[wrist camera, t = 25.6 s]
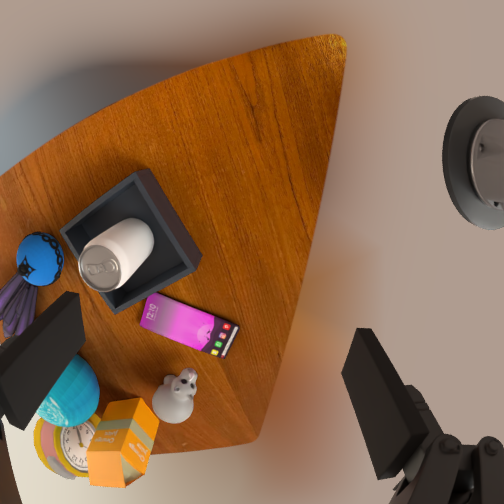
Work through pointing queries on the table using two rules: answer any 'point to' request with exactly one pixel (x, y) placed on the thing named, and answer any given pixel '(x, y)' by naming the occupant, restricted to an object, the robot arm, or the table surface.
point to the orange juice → (121, 443)
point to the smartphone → (188, 325)
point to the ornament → (40, 259)
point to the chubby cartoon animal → (175, 397)
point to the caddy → (163, 229)
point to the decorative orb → (72, 396)
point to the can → (115, 254)
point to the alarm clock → (65, 446)
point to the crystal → (17, 305)
